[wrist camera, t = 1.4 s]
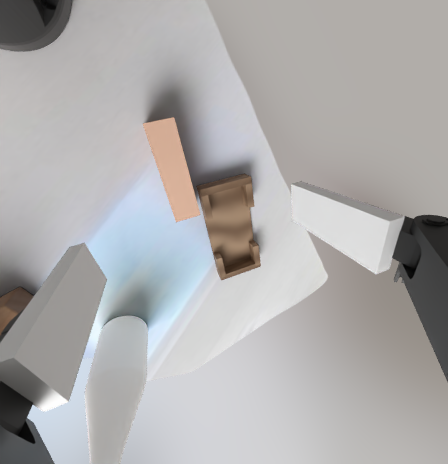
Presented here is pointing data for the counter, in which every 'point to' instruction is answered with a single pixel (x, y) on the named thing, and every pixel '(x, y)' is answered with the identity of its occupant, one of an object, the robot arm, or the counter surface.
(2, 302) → the wooden block
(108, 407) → the wine bottle
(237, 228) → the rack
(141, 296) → the counter surface
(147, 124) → the peach rectangular block
